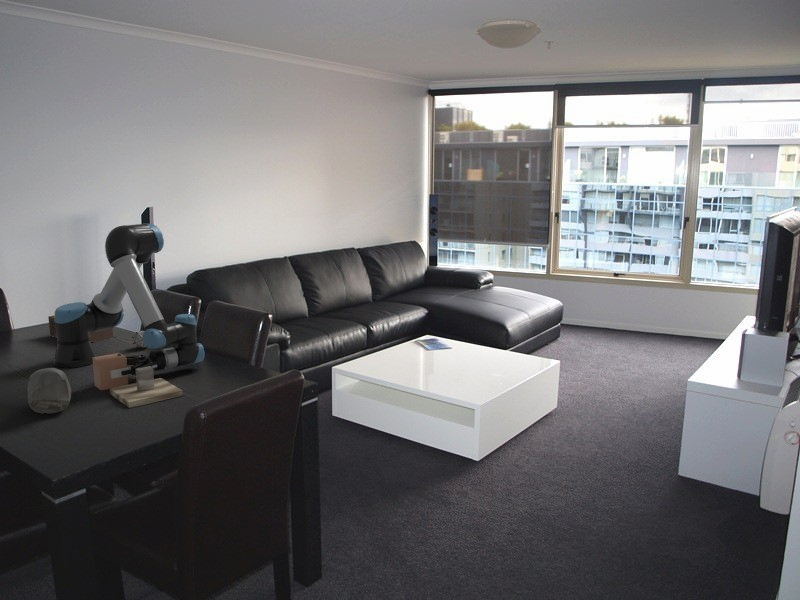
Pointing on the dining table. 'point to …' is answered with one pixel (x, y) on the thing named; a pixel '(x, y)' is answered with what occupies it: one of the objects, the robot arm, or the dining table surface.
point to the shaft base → (145, 395)
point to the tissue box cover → (93, 336)
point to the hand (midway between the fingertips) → (104, 370)
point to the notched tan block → (107, 364)
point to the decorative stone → (48, 391)
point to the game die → (139, 339)
